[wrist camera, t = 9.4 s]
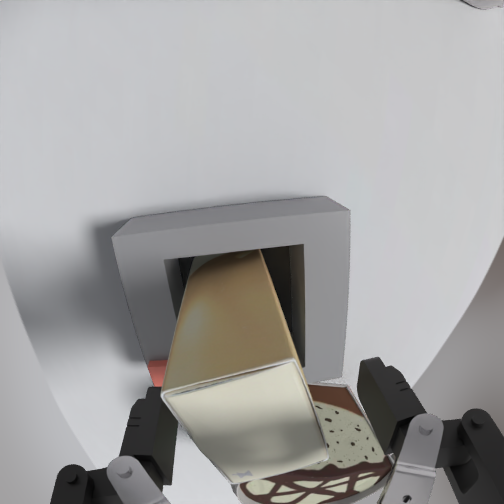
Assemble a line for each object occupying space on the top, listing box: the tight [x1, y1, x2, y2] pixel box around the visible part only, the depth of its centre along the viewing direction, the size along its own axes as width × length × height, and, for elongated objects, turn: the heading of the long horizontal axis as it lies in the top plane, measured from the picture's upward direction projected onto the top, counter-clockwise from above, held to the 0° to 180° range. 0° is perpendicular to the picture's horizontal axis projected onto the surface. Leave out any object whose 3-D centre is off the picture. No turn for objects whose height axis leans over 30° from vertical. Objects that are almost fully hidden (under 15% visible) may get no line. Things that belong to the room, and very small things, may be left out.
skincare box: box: [160, 249, 329, 484], centre depth 15 cm, size 6×4×12 cm
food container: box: [231, 382, 395, 504], centre depth 20 cm, size 12×6×10 cm, turn 73°
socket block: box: [111, 196, 350, 387], centre depth 19 cm, size 12×11×5 cm
